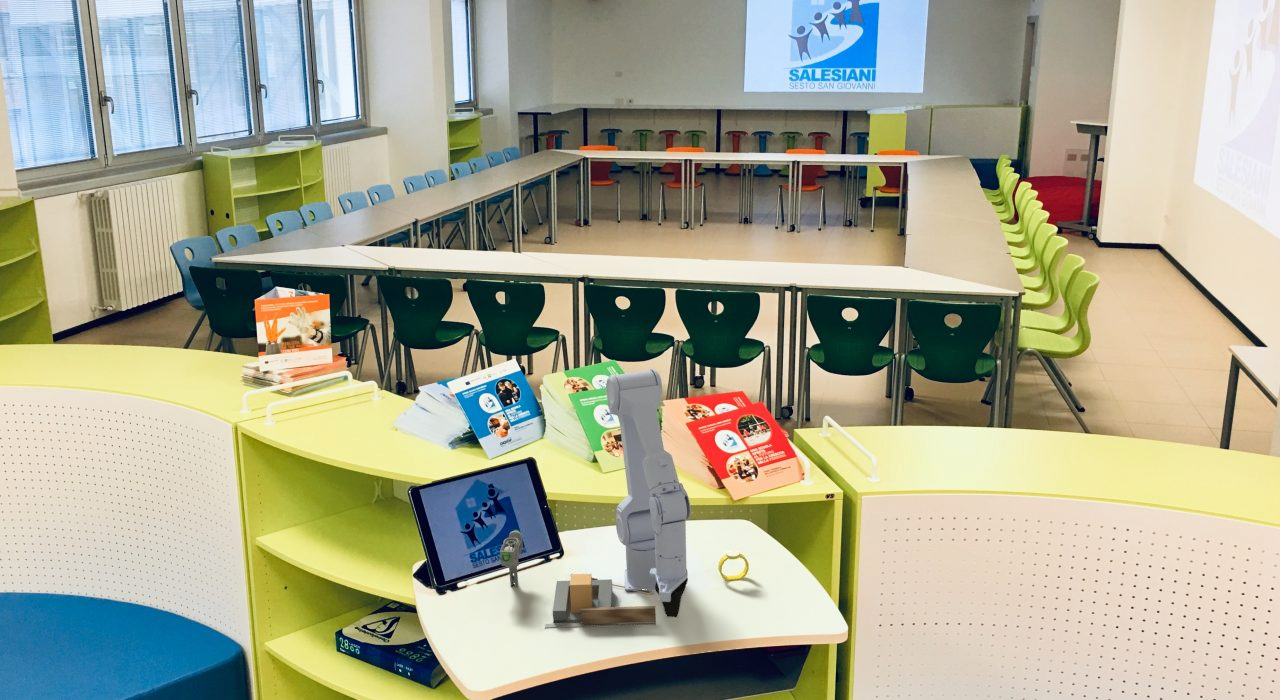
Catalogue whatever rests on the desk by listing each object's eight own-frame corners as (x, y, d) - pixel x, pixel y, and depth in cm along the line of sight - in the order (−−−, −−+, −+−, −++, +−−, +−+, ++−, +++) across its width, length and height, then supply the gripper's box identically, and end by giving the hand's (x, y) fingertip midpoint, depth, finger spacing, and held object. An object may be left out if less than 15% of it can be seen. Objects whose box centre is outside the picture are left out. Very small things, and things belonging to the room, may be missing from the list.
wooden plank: (655, 619, 207) (655, 605, 206) (655, 622, 206) (655, 608, 205) (582, 621, 207) (581, 608, 206) (581, 624, 206) (581, 610, 205)
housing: (654, 589, 218) (654, 578, 217) (655, 624, 206) (655, 612, 205) (550, 592, 218) (549, 581, 217) (544, 627, 206) (544, 615, 205)
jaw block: (592, 600, 214) (591, 573, 212) (592, 611, 210) (590, 584, 208) (572, 601, 214) (570, 574, 212) (571, 612, 210) (569, 585, 208)
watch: (721, 584, 220) (719, 558, 218) (718, 578, 222) (716, 552, 220) (750, 579, 220) (748, 553, 218) (747, 572, 223) (744, 547, 221)
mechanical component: (526, 572, 226) (523, 528, 223) (516, 598, 216) (512, 553, 213) (512, 571, 226) (509, 528, 223) (501, 598, 217) (498, 553, 214)
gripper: (656, 531, 209) (658, 593, 214) (641, 569, 196) (644, 634, 200) (693, 533, 208) (694, 596, 212) (680, 572, 194) (681, 638, 199)
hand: (672, 615), depth 206 cm, fingers closed
